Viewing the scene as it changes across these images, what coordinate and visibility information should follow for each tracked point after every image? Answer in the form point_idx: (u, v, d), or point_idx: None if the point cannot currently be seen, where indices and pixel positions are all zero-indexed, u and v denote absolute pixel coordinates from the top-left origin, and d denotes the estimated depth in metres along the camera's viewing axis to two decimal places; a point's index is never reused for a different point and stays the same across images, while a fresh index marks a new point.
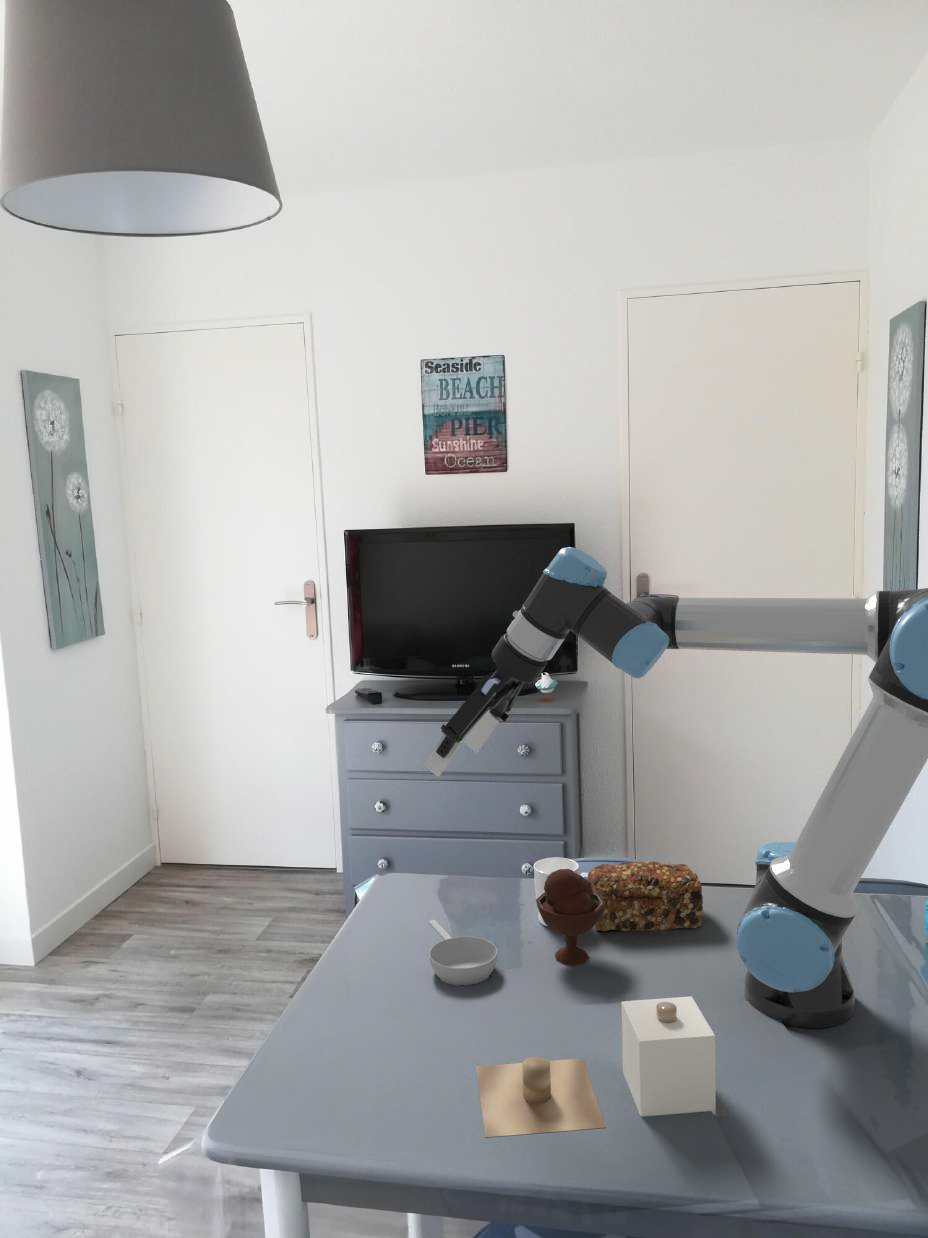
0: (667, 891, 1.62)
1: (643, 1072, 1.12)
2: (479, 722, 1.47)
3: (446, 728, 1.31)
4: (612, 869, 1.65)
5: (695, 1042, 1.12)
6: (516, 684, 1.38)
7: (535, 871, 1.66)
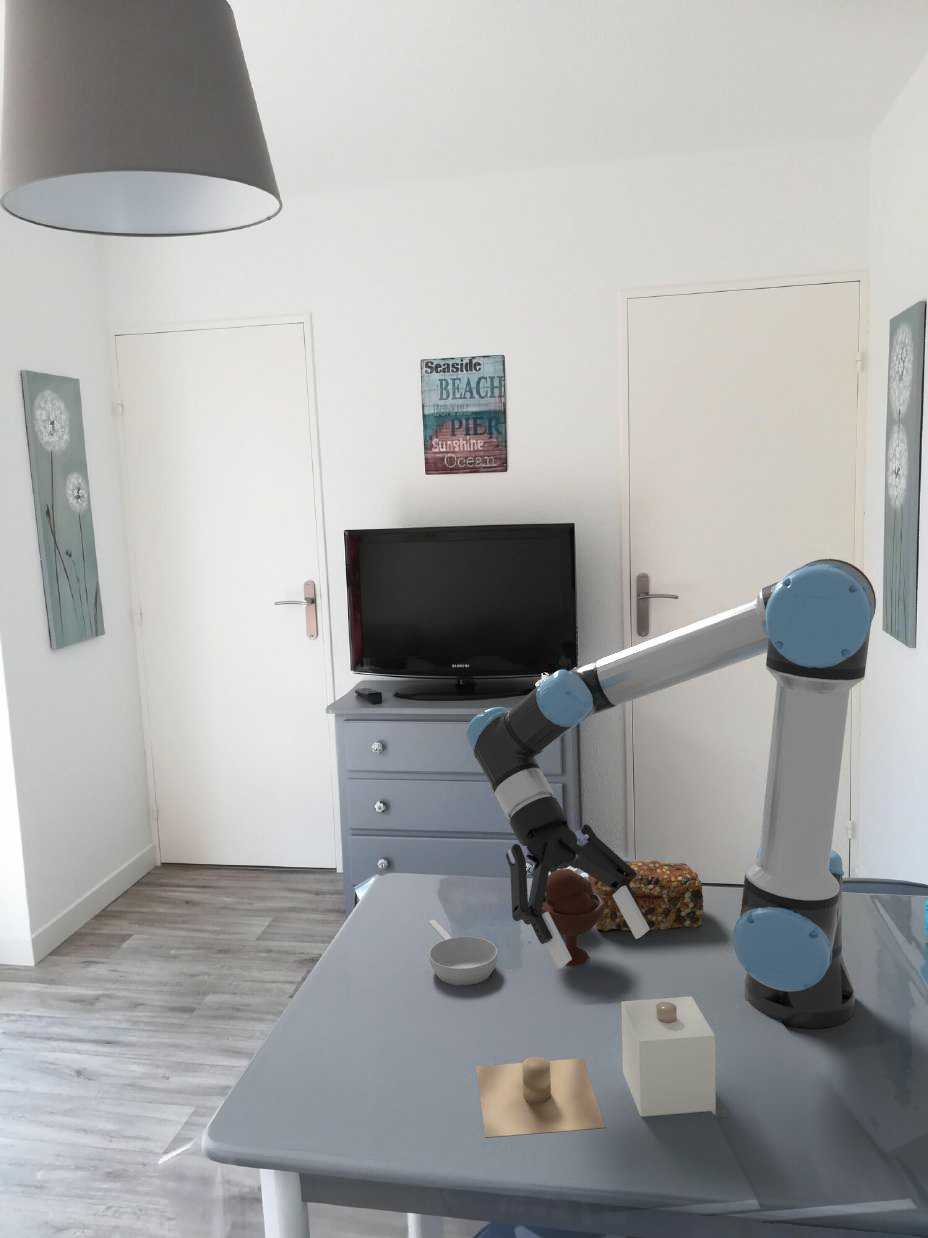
0: (667, 890, 1.62)
1: (643, 1072, 1.12)
2: (621, 908, 1.31)
3: (513, 913, 1.23)
4: None
5: (695, 1042, 1.12)
6: (561, 838, 1.31)
7: None
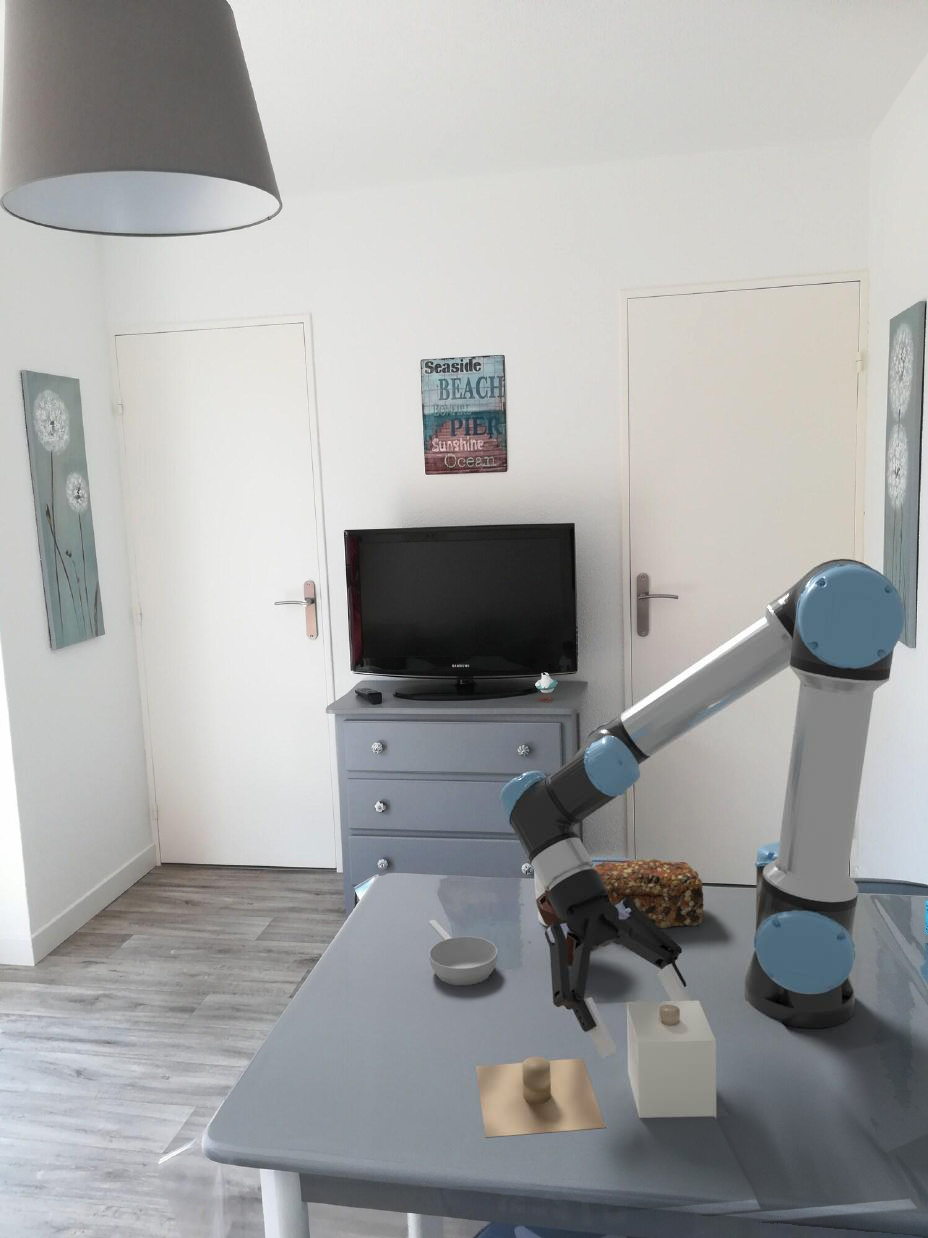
0: (667, 889, 1.62)
1: (642, 1073, 1.12)
2: (666, 988, 1.24)
3: (554, 999, 1.17)
4: (613, 867, 1.66)
5: (695, 1046, 1.11)
6: (603, 913, 1.25)
7: None
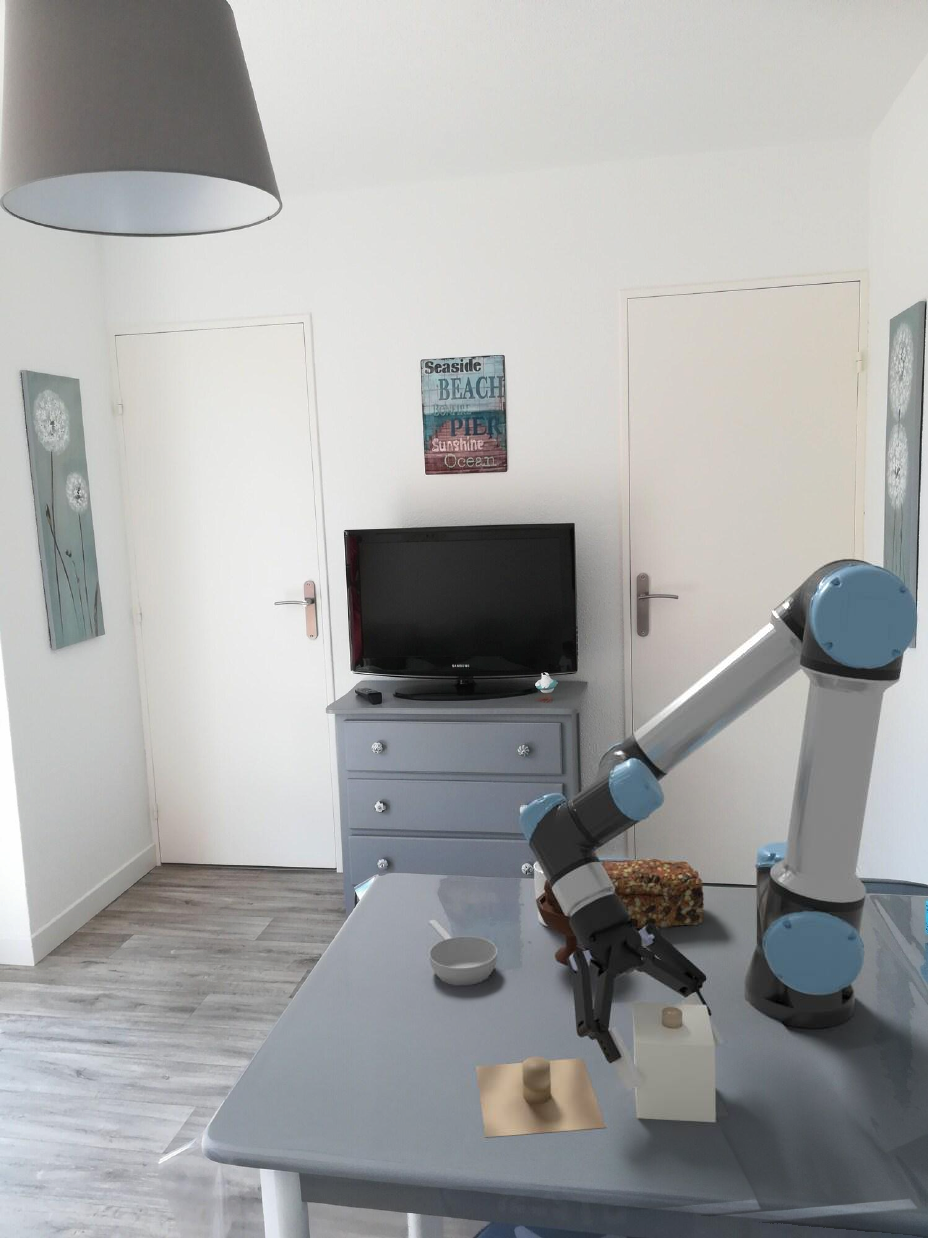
0: (668, 889, 1.63)
1: None
2: None
3: (578, 1029, 1.14)
4: (613, 867, 1.66)
5: (694, 1050, 1.10)
6: (626, 940, 1.22)
7: (535, 871, 1.66)
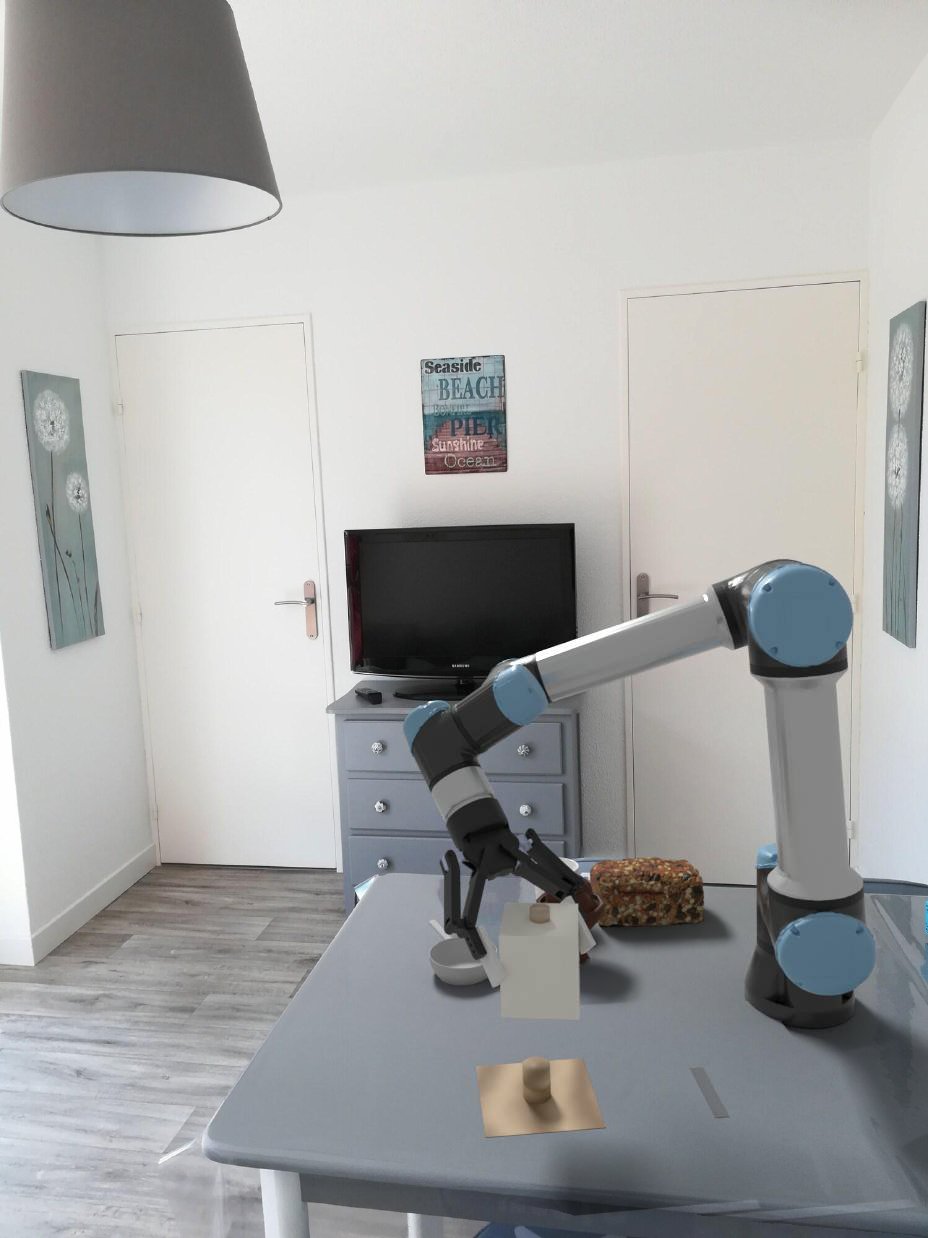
0: (668, 887, 1.64)
1: (503, 967, 1.10)
2: None
3: (445, 926, 1.12)
4: (614, 865, 1.67)
5: (557, 942, 1.09)
6: (501, 842, 1.20)
7: None
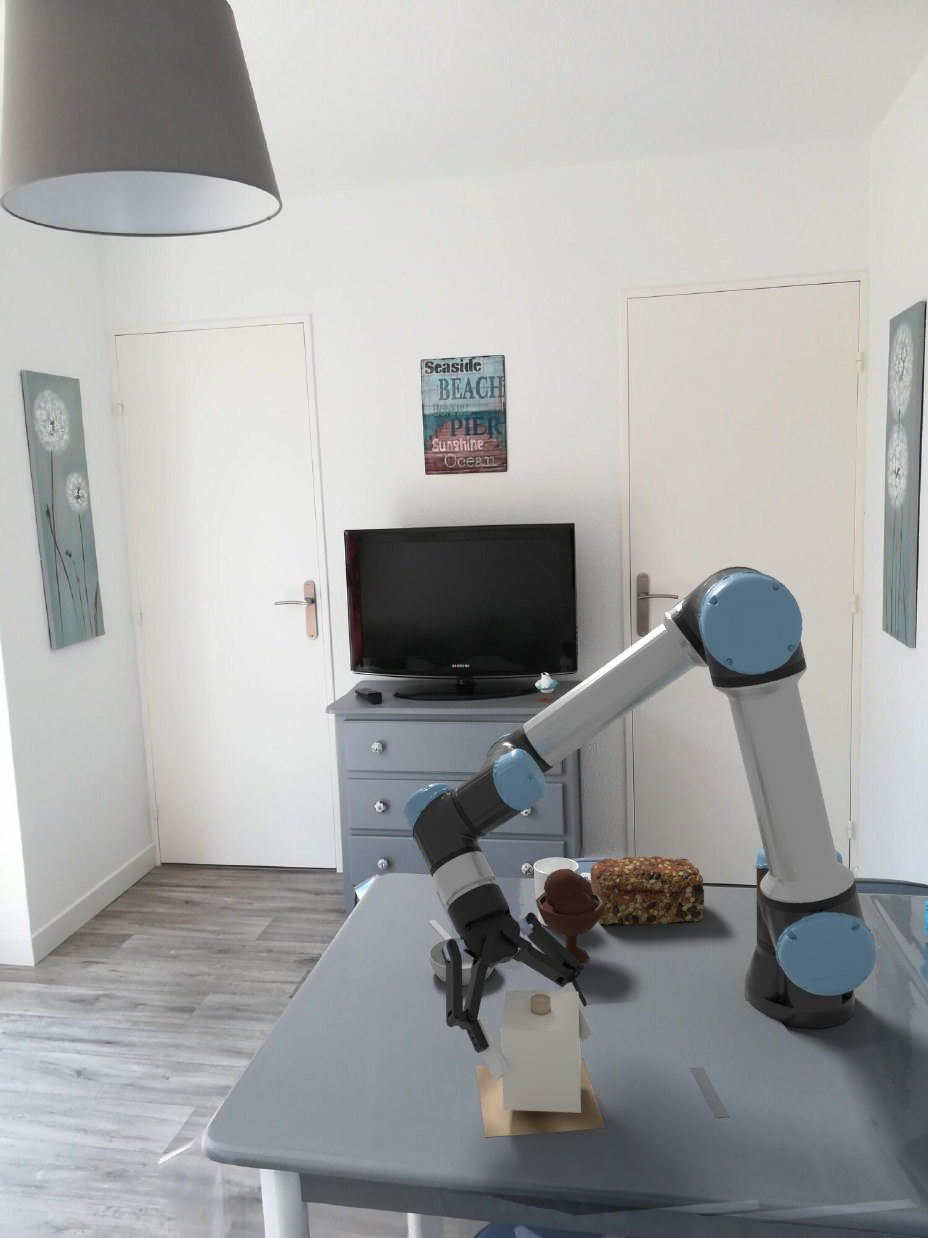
0: (669, 885, 1.64)
1: (505, 1061, 1.11)
2: None
3: (447, 1019, 1.14)
4: (615, 863, 1.68)
5: (558, 1036, 1.10)
6: (502, 929, 1.22)
7: (535, 871, 1.66)
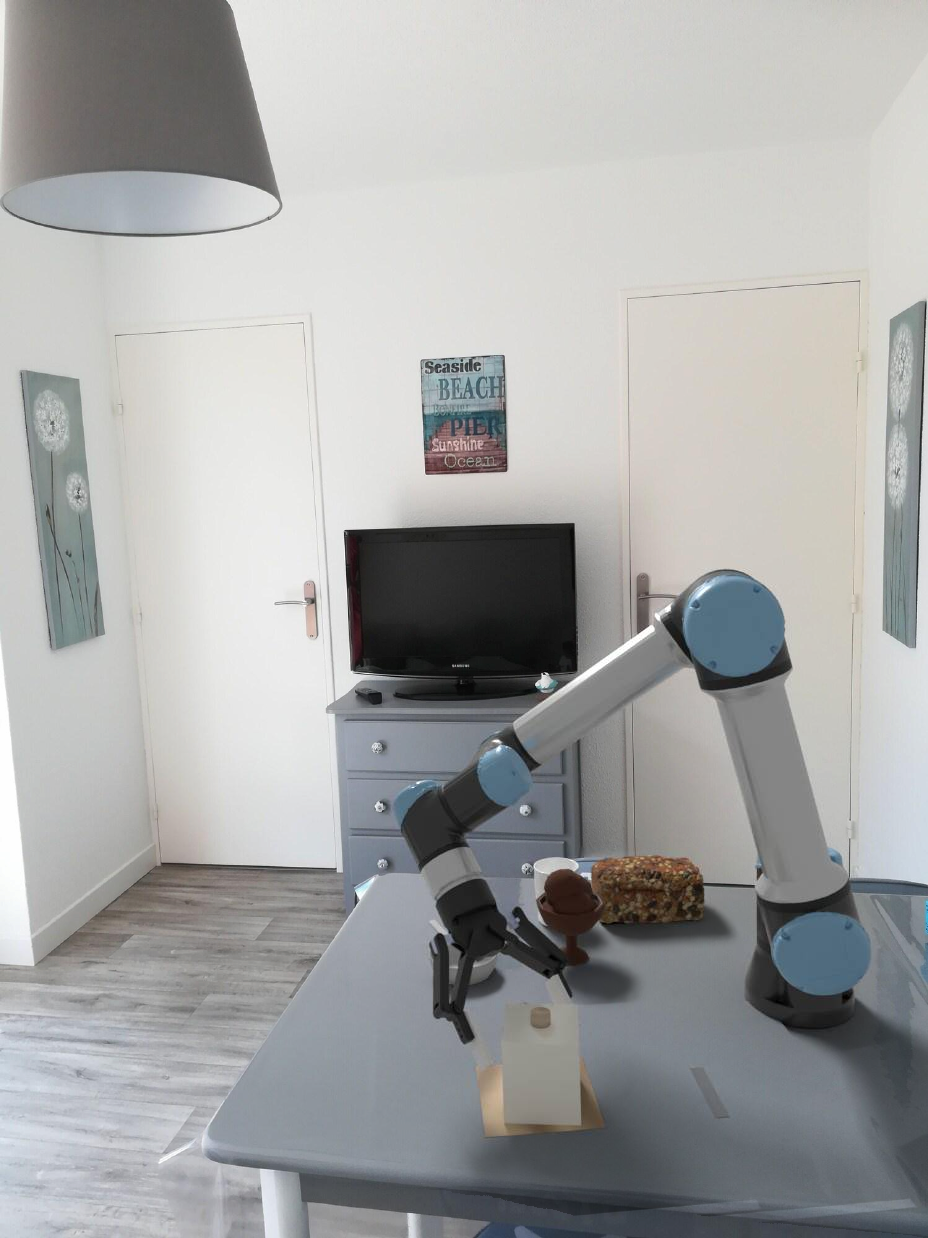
0: (669, 884, 1.65)
1: (505, 1075, 1.11)
2: (553, 998, 1.23)
3: (434, 1011, 1.16)
4: (615, 862, 1.68)
5: (558, 1050, 1.10)
6: (489, 923, 1.24)
7: (535, 871, 1.66)
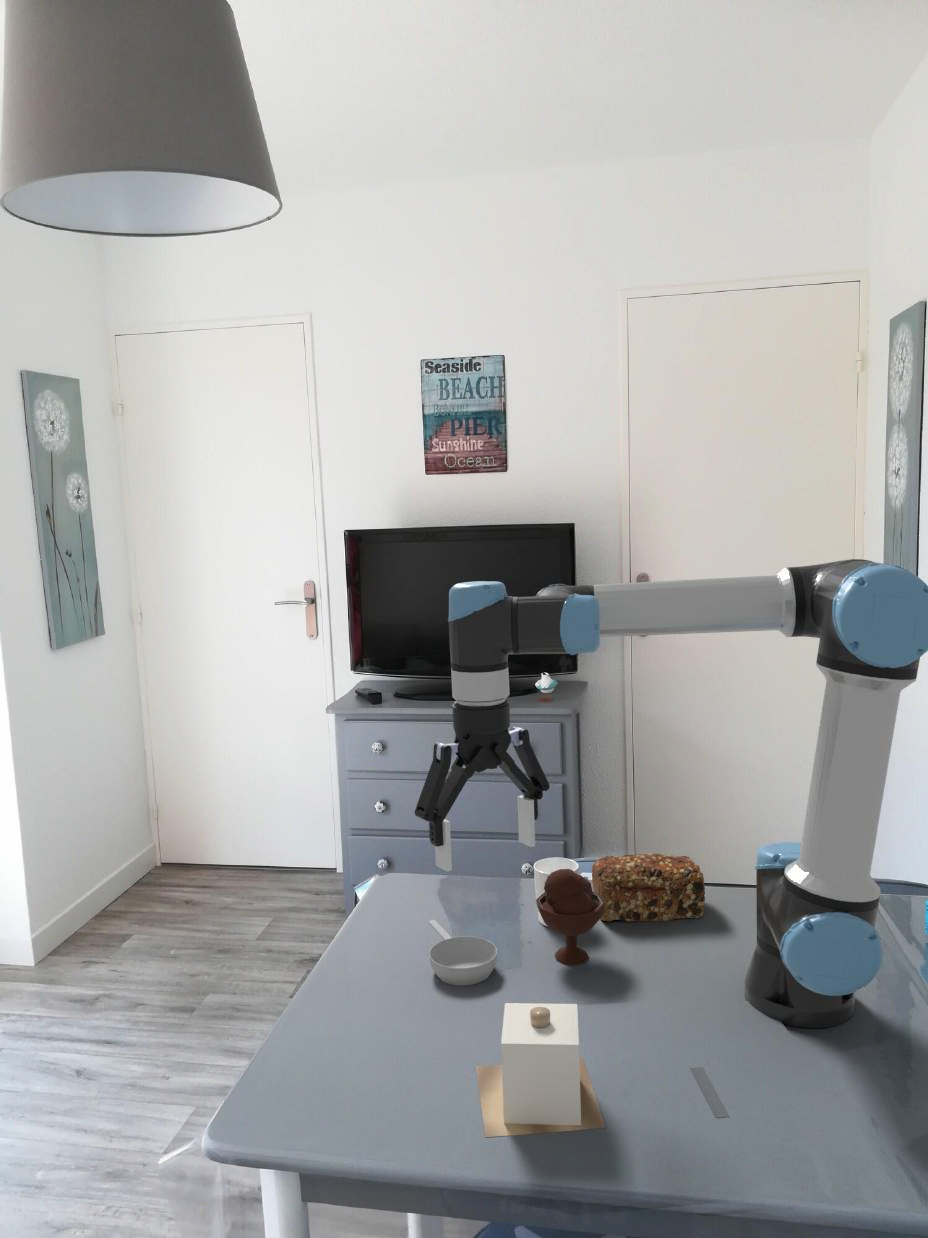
0: (669, 882, 1.65)
1: (505, 1075, 1.11)
2: (519, 812, 1.31)
3: (416, 810, 1.22)
4: (616, 861, 1.69)
5: (558, 1050, 1.10)
6: (495, 744, 1.25)
7: (535, 871, 1.66)
